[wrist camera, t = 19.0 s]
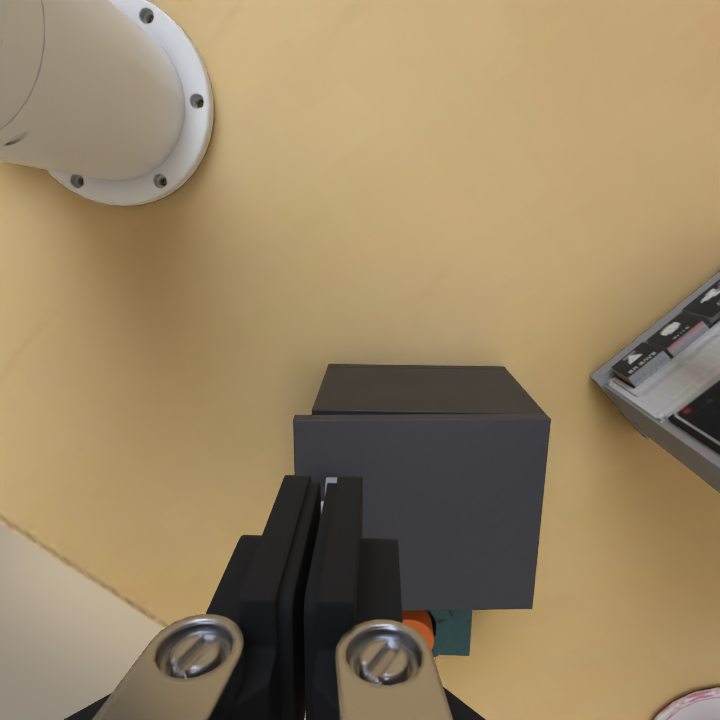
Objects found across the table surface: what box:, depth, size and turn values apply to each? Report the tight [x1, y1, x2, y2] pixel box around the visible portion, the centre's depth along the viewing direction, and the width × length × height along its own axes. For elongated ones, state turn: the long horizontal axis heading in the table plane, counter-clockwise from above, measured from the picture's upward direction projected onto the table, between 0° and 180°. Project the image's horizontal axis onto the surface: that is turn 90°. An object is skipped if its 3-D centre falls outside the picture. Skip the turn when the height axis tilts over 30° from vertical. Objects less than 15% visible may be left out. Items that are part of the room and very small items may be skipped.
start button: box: [402, 610, 434, 650], centre depth 39 cm, size 4×4×2 cm
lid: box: [293, 414, 551, 611], centre depth 27 cm, size 13×12×5 cm
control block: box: [426, 610, 472, 657], centre depth 41 cm, size 10×8×4 cm
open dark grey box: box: [312, 364, 545, 415], centre depth 35 cm, size 13×12×10 cm
